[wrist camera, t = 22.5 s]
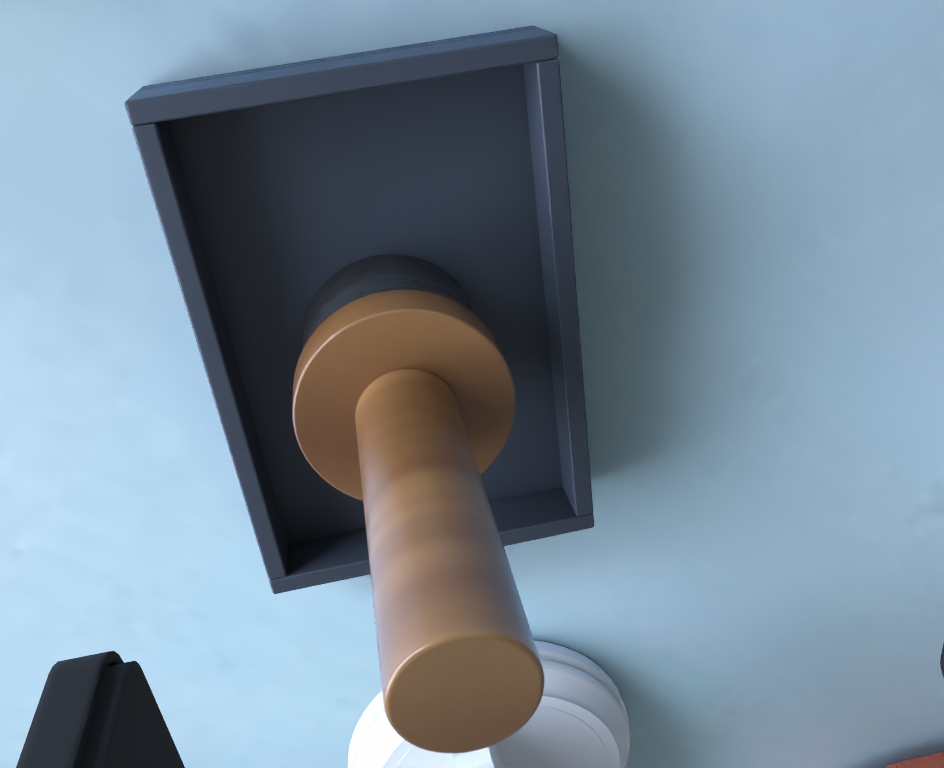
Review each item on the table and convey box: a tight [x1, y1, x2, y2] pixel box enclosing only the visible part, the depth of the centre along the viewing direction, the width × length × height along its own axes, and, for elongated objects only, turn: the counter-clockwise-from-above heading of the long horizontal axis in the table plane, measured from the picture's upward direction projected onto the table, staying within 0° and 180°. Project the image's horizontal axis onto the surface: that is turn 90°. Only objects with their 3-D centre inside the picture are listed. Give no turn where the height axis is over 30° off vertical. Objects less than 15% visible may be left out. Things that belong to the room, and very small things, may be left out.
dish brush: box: [292, 254, 545, 754], centre depth 17 cm, size 5×5×12 cm
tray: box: [125, 26, 594, 594], centre depth 22 cm, size 13×9×2 cm
